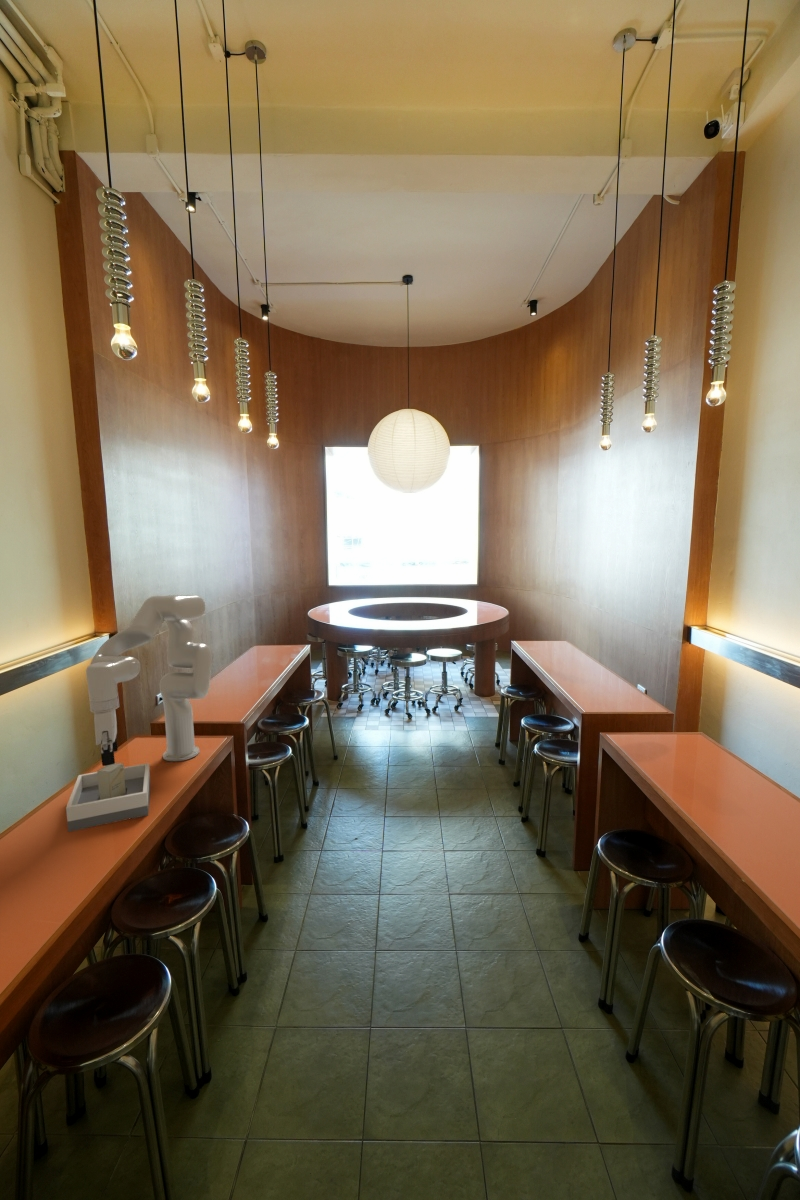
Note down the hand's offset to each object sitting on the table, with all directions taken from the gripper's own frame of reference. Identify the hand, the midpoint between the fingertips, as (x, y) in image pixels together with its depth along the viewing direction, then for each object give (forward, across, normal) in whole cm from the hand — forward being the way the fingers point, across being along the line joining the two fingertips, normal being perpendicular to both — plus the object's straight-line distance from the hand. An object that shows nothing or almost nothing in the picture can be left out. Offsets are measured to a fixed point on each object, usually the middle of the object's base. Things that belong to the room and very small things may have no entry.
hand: (110, 757), depth 156 cm
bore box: (+15, +1, 0) cm, 15 cm away
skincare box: (+15, 0, 0) cm, 15 cm away
